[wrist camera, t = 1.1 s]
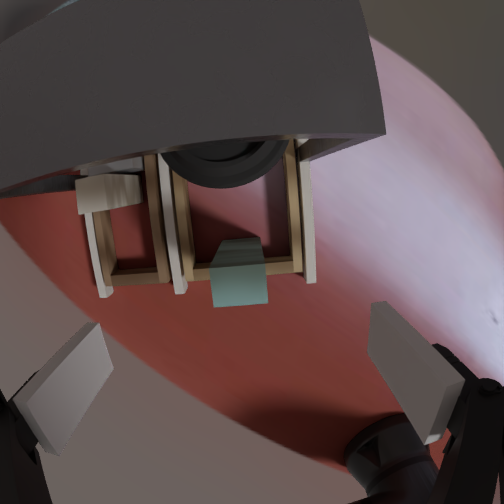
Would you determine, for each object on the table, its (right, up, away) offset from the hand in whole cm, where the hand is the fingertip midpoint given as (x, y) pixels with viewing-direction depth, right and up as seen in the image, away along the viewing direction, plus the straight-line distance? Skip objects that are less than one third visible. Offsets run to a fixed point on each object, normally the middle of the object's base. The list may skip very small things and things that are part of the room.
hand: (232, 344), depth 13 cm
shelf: (-6, +17, +16) cm, 25 cm away
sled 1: (-13, +11, +18) cm, 24 cm away
